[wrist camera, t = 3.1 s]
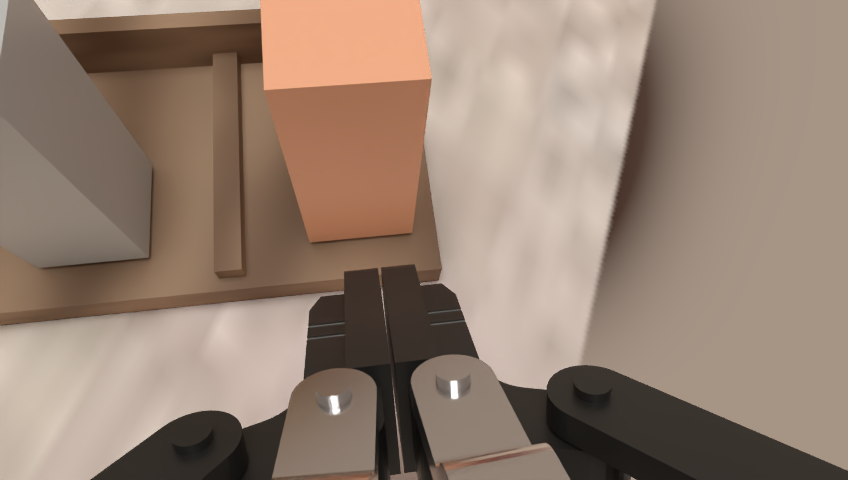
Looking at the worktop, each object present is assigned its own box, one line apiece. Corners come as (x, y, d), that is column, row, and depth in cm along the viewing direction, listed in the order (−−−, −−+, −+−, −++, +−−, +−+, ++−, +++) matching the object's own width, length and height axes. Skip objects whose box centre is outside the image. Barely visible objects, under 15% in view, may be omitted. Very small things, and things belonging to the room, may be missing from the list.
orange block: (309, 242, 24) (263, 90, 14) (303, 152, 25) (259, -40, 16) (412, 232, 24) (431, 78, 15) (400, 144, 26) (411, -47, 16)
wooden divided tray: (-257, 351, 23) (-382, 326, 19) (-189, 99, 27) (-282, 37, 23) (438, 280, 25) (448, 245, 22) (407, 61, 29) (411, 0, 26)
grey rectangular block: (36, 268, 23) (-202, 121, 13) (46, 172, 24) (-163, -21, 15) (148, 257, 23) (-7, 108, 14) (152, 163, 25) (12, -29, 15)
